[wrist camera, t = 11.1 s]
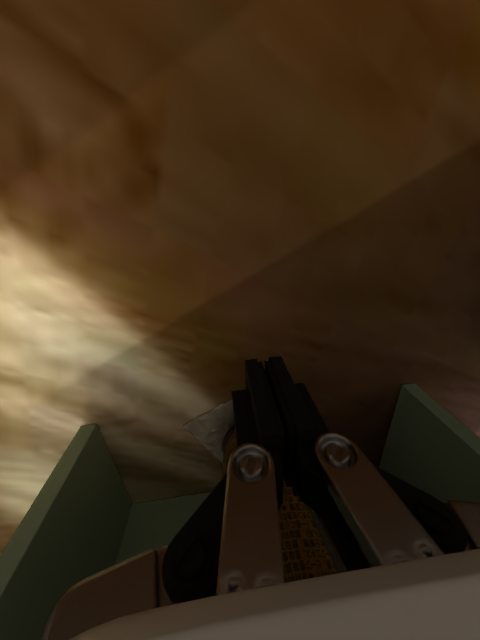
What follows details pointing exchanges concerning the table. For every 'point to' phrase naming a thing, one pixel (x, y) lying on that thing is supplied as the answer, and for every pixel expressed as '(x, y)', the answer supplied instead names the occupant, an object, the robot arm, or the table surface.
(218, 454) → the condiment
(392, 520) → the robot arm
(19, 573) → the mint-sided brown box
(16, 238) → the table surface
